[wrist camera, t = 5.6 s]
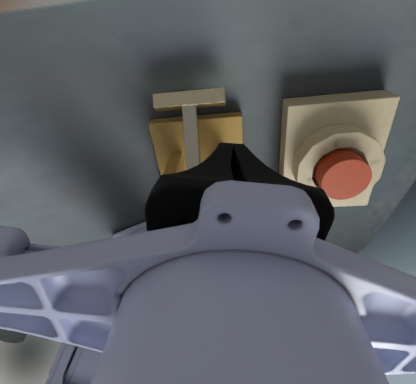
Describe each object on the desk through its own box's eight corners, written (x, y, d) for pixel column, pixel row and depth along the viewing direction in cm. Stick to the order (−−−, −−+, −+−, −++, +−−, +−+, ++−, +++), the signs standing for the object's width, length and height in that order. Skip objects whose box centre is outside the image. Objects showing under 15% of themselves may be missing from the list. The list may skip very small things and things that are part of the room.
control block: (282, 98, 21) (293, 113, 18) (385, 89, 21) (415, 103, 17) (277, 196, 27) (284, 221, 24) (357, 192, 26) (376, 217, 23)
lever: (158, 100, 21) (149, 90, 19) (225, 93, 21) (224, 83, 18) (167, 219, 22) (158, 224, 20) (232, 216, 21) (231, 222, 19)
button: (317, 150, 20) (324, 161, 19) (366, 147, 20) (377, 157, 18) (312, 188, 22) (318, 201, 21) (356, 186, 22) (365, 198, 20)
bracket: (151, 119, 23) (121, 160, 16) (241, 111, 22) (247, 151, 16) (171, 207, 29) (155, 264, 22) (244, 203, 28) (249, 262, 21)
